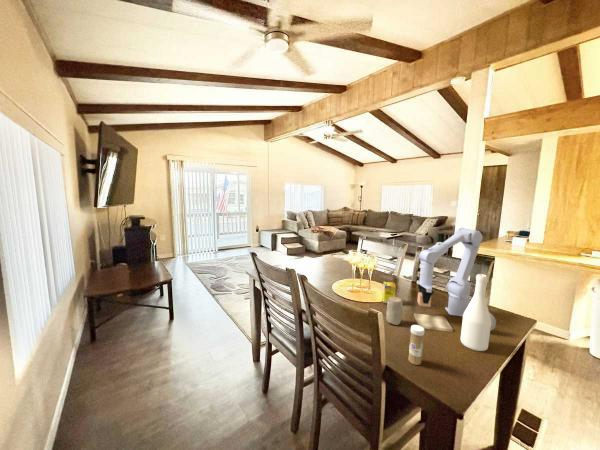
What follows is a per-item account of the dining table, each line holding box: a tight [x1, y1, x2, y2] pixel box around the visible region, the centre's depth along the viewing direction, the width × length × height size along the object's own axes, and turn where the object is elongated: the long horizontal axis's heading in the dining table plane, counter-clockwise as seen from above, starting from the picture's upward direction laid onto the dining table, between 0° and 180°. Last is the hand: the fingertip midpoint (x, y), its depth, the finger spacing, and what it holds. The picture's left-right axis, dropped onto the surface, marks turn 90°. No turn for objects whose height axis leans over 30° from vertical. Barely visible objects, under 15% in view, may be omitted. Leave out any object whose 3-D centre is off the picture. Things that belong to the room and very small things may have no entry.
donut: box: [489, 312, 497, 332], centre depth 118 cm, size 10×4×10 cm, turn 63°
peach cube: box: [416, 291, 432, 308], centre depth 129 cm, size 5×5×5 cm
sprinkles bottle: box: [407, 324, 425, 366], centre depth 96 cm, size 5×5×14 cm
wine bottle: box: [459, 273, 491, 352], centre depth 105 cm, size 10×10×30 cm
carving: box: [385, 296, 404, 326], centre depth 124 cm, size 6×8×12 cm
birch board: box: [413, 313, 454, 333], centre depth 124 cm, size 14×12×1 cm
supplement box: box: [382, 281, 397, 305], centre depth 146 cm, size 6×6×11 cm
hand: (424, 300), depth 129 cm, fingers closed on peach cube, 5 cm apart
